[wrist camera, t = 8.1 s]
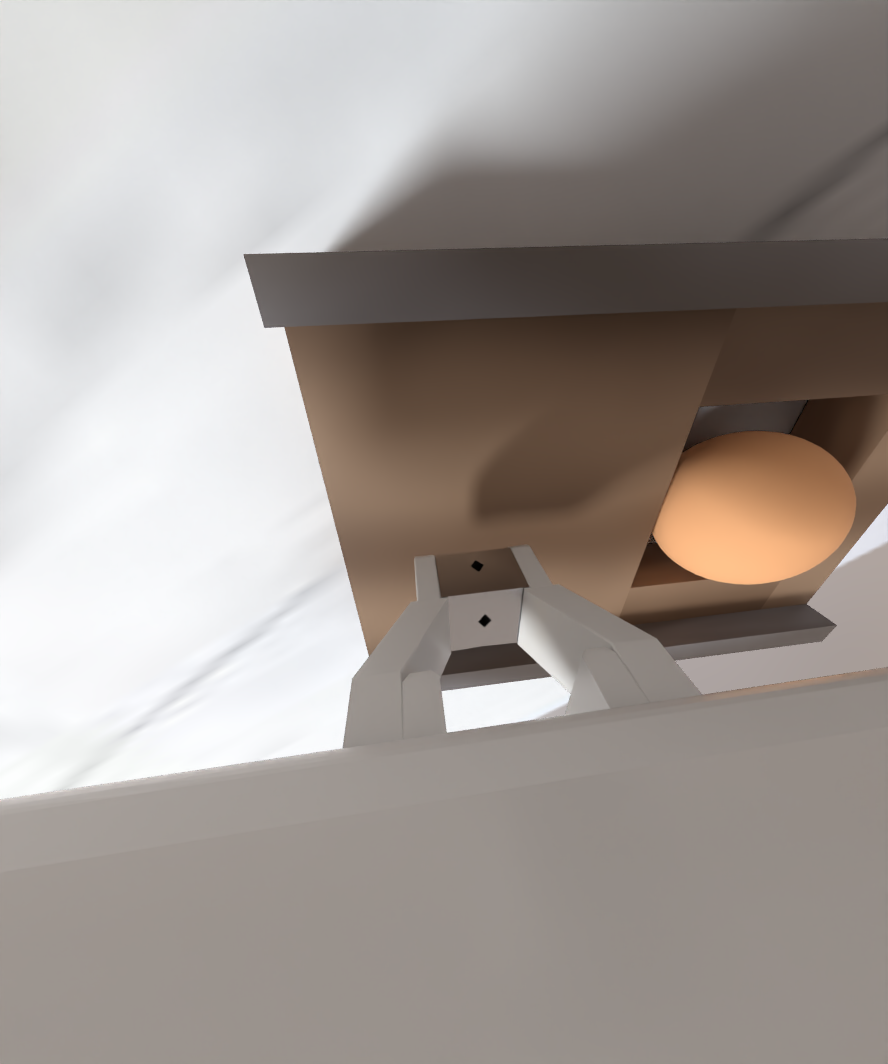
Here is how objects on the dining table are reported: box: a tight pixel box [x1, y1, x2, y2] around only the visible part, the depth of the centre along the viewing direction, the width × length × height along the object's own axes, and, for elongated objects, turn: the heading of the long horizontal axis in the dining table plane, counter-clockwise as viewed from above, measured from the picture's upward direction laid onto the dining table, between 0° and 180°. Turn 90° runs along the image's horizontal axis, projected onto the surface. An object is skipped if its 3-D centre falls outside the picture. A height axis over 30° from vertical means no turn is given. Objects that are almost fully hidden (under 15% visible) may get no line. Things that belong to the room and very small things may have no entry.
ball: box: [652, 431, 856, 585], centre depth 11 cm, size 5×5×5 cm
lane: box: [244, 239, 888, 691], centre depth 11 cm, size 13×19×4 cm
